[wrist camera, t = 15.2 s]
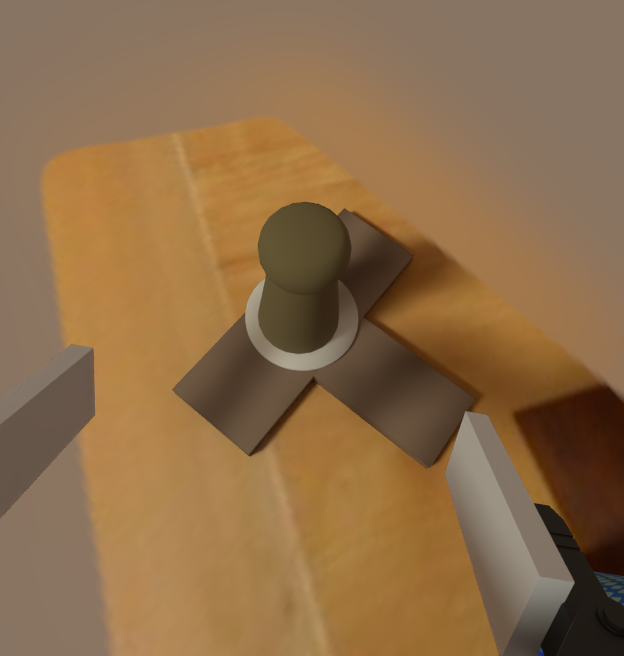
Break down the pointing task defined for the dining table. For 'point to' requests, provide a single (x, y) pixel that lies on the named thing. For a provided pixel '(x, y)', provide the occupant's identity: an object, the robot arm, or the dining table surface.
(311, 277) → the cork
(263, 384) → the walnut T board
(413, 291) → the dining table surface
